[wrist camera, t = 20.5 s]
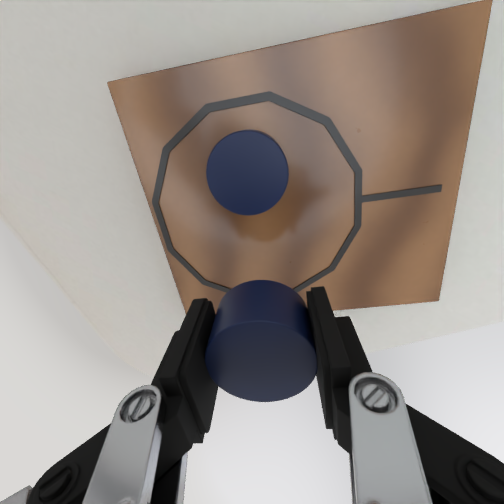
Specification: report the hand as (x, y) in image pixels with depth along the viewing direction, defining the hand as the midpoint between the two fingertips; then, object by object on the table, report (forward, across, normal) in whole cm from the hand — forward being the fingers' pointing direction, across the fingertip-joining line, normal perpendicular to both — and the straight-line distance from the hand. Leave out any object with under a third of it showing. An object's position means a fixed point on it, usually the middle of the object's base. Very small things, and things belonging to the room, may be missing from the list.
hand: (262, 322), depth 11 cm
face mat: (+8, -2, -3) cm, 8 cm away
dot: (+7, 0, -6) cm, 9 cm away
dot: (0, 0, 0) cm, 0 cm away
